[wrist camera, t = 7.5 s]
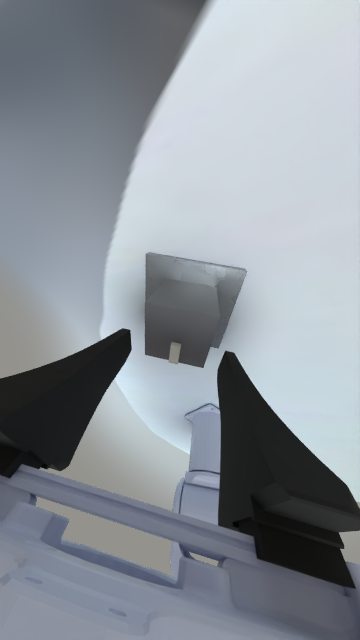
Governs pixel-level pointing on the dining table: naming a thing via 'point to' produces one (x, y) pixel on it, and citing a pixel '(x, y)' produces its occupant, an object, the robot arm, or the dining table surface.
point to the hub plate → (198, 282)
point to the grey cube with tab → (181, 322)
